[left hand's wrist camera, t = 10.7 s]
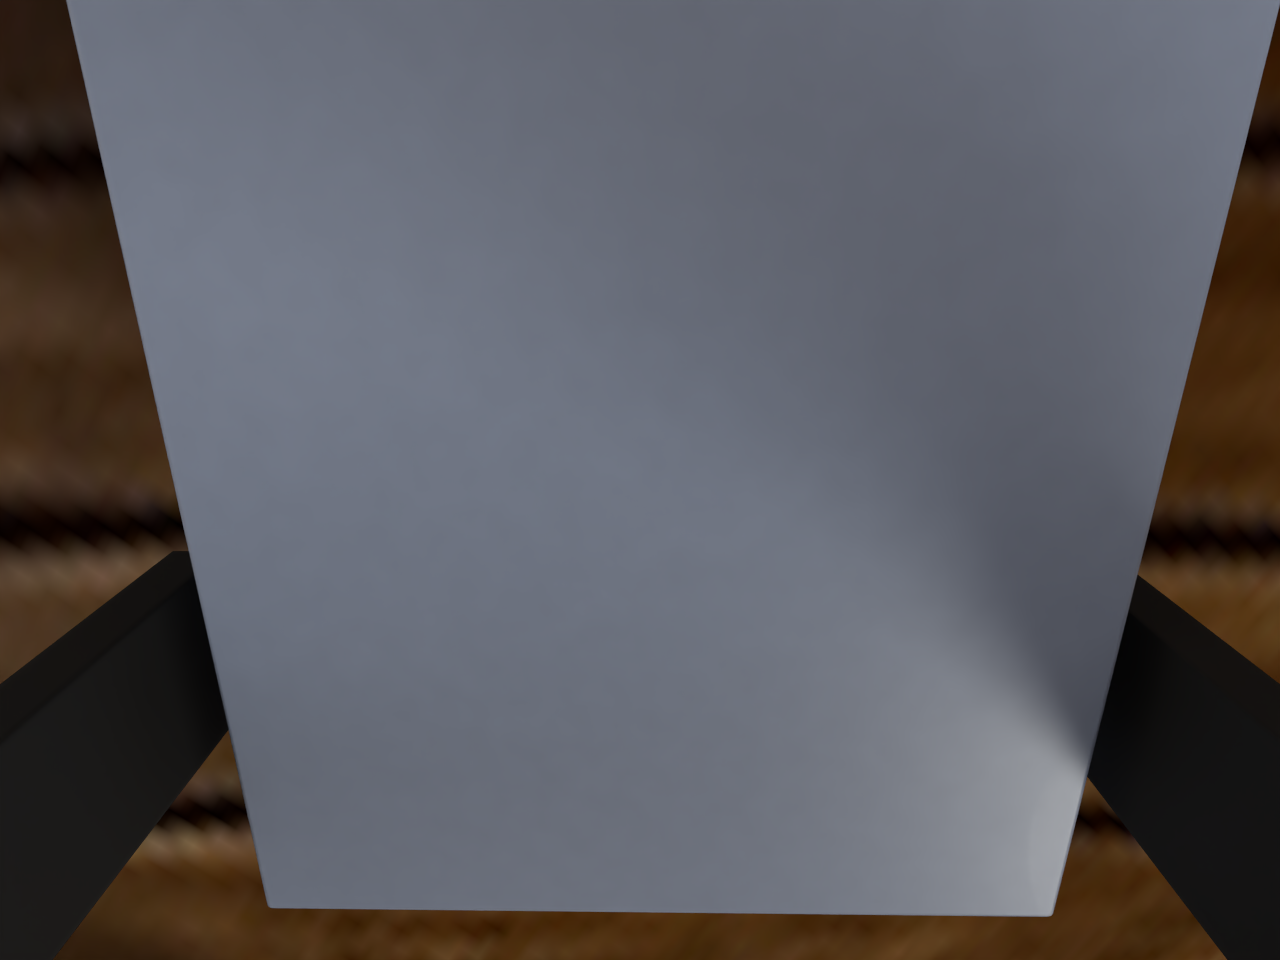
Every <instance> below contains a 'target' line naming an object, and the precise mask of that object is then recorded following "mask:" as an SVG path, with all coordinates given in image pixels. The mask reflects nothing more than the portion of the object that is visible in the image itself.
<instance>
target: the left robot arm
mask: <svg viewBox="0 0 1280 960" xmlns="http://www.w3.org/2000/svg"><path fill="white" fill-rule="evenodd" d="M228 730H229V729H228V724H227V720H226V715H225V711H224V707H223V702H222V698H221V693H220V689H219V684H218V680H217V675H216V671H215V666H214V662H213V657H212V653H211V648H210V644H209V639H208V635H207V630H206V626H205V621H204V617H203V612H202V608H201V603H200V599H199V594H198V590H197V585H196V581H195V576H194V572H193V567H192V563H191V558H190V554H189V551H173V552H171V553H170V554H169V555H167V556H166V557H165V558H163V559H162V560H161V561H160V562H158V563H157V564H156V565H154V566H153V567H152V568H150V569H149V570H148V571H147V572H145V573H144V574H143V575H141V576H140V577H139V578H137V579H136V580H135V581H134V582H132V583H131V584H130V585H128V586H127V587H126V588H125V589H123V590H122V591H121V592H119V593H118V594H117V595H115V596H114V597H113V598H112V599H110V600H109V601H108V602H106V603H105V604H104V605H102V606H101V607H100V608H99V609H97V610H96V611H95V612H93V613H92V614H91V615H89V616H88V617H87V618H86V619H84V620H83V621H82V622H80V623H79V624H78V625H76V626H75V627H74V628H73V629H71V630H70V631H69V632H67V633H66V634H65V635H64V636H62V637H61V638H60V639H58V640H57V641H56V642H54V643H53V644H52V645H51V646H49V647H48V648H47V649H45V650H44V651H43V652H41V653H40V654H39V655H38V656H36V657H35V658H34V659H32V660H31V661H30V662H28V663H27V664H26V665H25V666H23V667H22V668H21V669H19V670H18V671H17V672H15V673H14V674H13V675H12V676H10V677H9V678H8V679H6V680H5V681H4V682H3V683H1V684H0V960H53V958H54V957H55V956H56V955H57V953H58V952H59V951H60V949H61V948H62V947H63V945H64V944H65V943H66V941H67V940H68V939H69V938H70V936H71V935H72V934H73V932H74V931H75V930H76V928H77V927H78V926H79V924H80V923H81V922H82V921H83V919H84V918H85V917H86V915H87V914H88V913H89V911H90V910H91V909H92V907H93V906H94V905H95V904H96V902H97V901H98V900H99V898H100V897H101V896H102V894H103V893H104V892H105V890H106V889H107V888H108V887H109V885H110V884H111V883H112V881H113V880H114V879H115V877H116V876H117V875H118V873H119V872H120V871H121V870H122V868H123V867H124V866H125V864H126V863H127V862H128V860H129V859H130V858H131V856H132V855H133V854H134V853H135V851H136V850H137V849H138V847H139V846H140V845H141V843H142V842H143V841H144V839H145V838H146V837H147V836H148V834H149V833H150V832H151V830H152V829H153V828H154V826H155V825H156V824H157V822H158V821H159V820H160V819H161V817H162V816H163V815H164V813H165V812H166V811H167V809H168V808H169V807H170V805H171V804H172V803H173V802H174V800H175V799H176V798H177V796H178V795H179V794H180V792H181V791H182V790H183V788H184V787H185V786H186V785H187V783H188V782H189V781H190V779H191V778H192V777H193V775H194V774H195V773H196V771H197V770H198V769H199V768H200V766H201V765H202V764H203V762H204V761H205V760H206V758H207V757H208V756H209V754H210V753H211V752H212V750H213V749H214V748H215V747H216V745H217V744H218V743H219V741H220V740H221V739H222V737H223V736H224V735H225V733H226V732H227V731H228ZM1087 777H1088V778H1089V779H1090V781H1091V782H1092V783H1093V785H1094V786H1095V787H1096V788H1097V790H1098V791H1099V792H1100V794H1101V795H1102V796H1103V798H1104V799H1105V800H1106V802H1107V803H1108V804H1109V805H1110V807H1111V808H1112V809H1113V811H1114V812H1115V813H1116V815H1117V816H1118V817H1119V819H1120V820H1121V821H1122V822H1123V824H1124V825H1125V826H1126V828H1127V829H1128V830H1129V832H1130V833H1131V834H1132V836H1133V837H1134V838H1135V839H1136V841H1137V842H1138V843H1139V845H1140V846H1141V847H1142V849H1143V850H1144V851H1145V853H1146V854H1147V855H1148V856H1149V858H1150V859H1151V860H1152V862H1153V863H1154V864H1155V866H1156V867H1157V868H1158V870H1159V871H1160V872H1161V873H1162V875H1163V876H1164V877H1165V879H1166V880H1167V881H1168V883H1169V884H1170V885H1171V887H1172V888H1173V889H1174V890H1175V892H1176V893H1177V894H1178V896H1179V897H1180V898H1181V900H1182V901H1183V902H1184V904H1185V905H1186V906H1187V907H1188V909H1189V910H1190V911H1191V913H1192V914H1193V915H1194V917H1195V918H1196V919H1197V921H1198V922H1199V923H1200V924H1201V926H1202V927H1203V928H1204V930H1205V931H1206V932H1207V934H1208V935H1209V936H1210V938H1211V939H1212V940H1213V941H1214V943H1215V944H1216V945H1217V947H1218V948H1219V949H1220V951H1221V952H1222V953H1223V955H1224V956H1225V957H1226V958H1227V960H1280V684H1279V683H1277V682H1276V681H1275V680H1274V679H1272V678H1271V677H1270V676H1268V675H1267V674H1266V673H1265V672H1263V671H1262V670H1261V669H1259V668H1258V667H1257V666H1255V665H1254V664H1253V663H1252V662H1250V661H1249V660H1248V659H1246V658H1245V657H1244V656H1242V655H1241V654H1240V653H1239V652H1237V651H1236V650H1235V649H1233V648H1232V647H1231V646H1229V645H1228V644H1227V643H1226V642H1224V641H1223V640H1222V639H1220V638H1219V637H1218V636H1216V635H1215V634H1214V633H1213V632H1211V631H1210V630H1209V629H1207V628H1206V627H1205V626H1204V625H1202V624H1201V623H1200V622H1198V621H1197V620H1196V619H1194V618H1193V617H1192V616H1191V615H1189V614H1188V613H1187V612H1185V611H1184V610H1183V609H1181V608H1180V607H1179V606H1178V605H1176V604H1175V603H1174V602H1172V601H1171V600H1170V599H1168V598H1167V597H1166V596H1165V595H1163V594H1162V593H1161V592H1159V591H1158V590H1157V589H1155V588H1154V587H1153V586H1152V585H1150V584H1149V583H1148V582H1146V581H1145V580H1144V579H1143V578H1141V577H1140V576H1139V575H1137V578H1136V582H1135V586H1134V590H1133V594H1132V598H1131V602H1130V606H1129V610H1128V614H1127V618H1126V622H1125V626H1124V630H1123V634H1122V638H1121V642H1120V646H1119V650H1118V654H1117V658H1116V662H1115V666H1114V670H1113V674H1112V678H1111V682H1110V687H1109V691H1108V695H1107V699H1106V703H1105V707H1104V711H1103V715H1102V719H1101V723H1100V727H1099V731H1098V735H1097V739H1096V743H1095V747H1094V751H1093V755H1092V759H1091V763H1090V767H1089V771H1088V775H1087Z"/></svg>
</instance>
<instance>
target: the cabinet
mask: <svg viewBox="0 0 1280 960" xmlns="http://www.w3.org/2000/svg"><path fill="white" fill-rule="evenodd" d="M66 1H67V6H68V10H69V15H70V19H71V24H72V28H73V33H74V37H75V42H76V46H77V51H78V55H79V60H80V64H81V69H82V73H83V78H84V82H85V87H86V91H87V96H88V100H89V105H90V109H91V114H92V118H93V123H94V127H95V131H96V136H97V140H98V145H99V149H100V154H101V158H102V163H103V167H104V172H105V176H106V181H107V185H108V190H109V194H110V199H111V203H112V208H113V212H114V217H115V221H116V226H117V230H118V235H119V239H120V244H121V248H122V253H123V257H124V262H125V266H126V271H127V275H128V280H129V284H130V289H131V293H132V298H133V302H134V307H135V311H136V316H137V320H138V325H139V329H140V334H141V338H142V343H143V347H144V352H145V356H146V361H147V365H148V370H149V374H150V379H151V383H152V388H153V392H154V397H155V401H156V406H157V410H158V415H159V419H160V423H161V428H162V432H163V437H164V441H165V446H166V450H167V455H168V459H169V464H170V468H171V473H172V477H173V482H174V486H175V491H176V495H177V500H178V504H179V509H180V513H181V518H182V522H183V527H184V531H185V536H186V540H187V545H188V549H189V554H190V558H191V563H192V567H193V572H194V576H195V581H196V585H197V590H198V594H199V599H200V603H201V608H202V612H203V617H204V621H205V626H206V630H207V635H208V639H209V644H210V648H211V653H212V657H213V662H214V666H215V671H216V675H217V680H218V684H219V689H220V693H221V698H222V702H223V707H224V711H225V715H226V720H227V724H228V729H229V733H230V738H231V742H232V747H233V751H234V756H235V760H236V765H237V769H238V774H239V778H240V783H241V787H242V792H243V796H244V801H245V805H246V810H247V814H248V819H249V823H250V828H251V832H252V837H253V841H254V846H255V850H256V855H257V859H258V864H259V868H260V873H261V877H262V882H263V886H264V891H265V895H266V900H267V904H268V906H269V907H271V908H318V909H408V910H498V911H588V912H677V913H767V914H857V915H947V916H1037V917H1048V916H1051V915H1052V914H1053V911H1054V907H1055V903H1056V899H1057V895H1058V891H1059V887H1060V883H1061V879H1062V875H1063V871H1064V867H1065V863H1066V859H1067V855H1068V851H1069V847H1070V843H1071V839H1072V835H1073V831H1074V827H1075V823H1076V819H1077V815H1078V811H1079V807H1080V803H1081V799H1082V795H1083V791H1084V787H1085V783H1086V779H1087V775H1088V771H1089V767H1090V763H1091V759H1092V755H1093V751H1094V747H1095V743H1096V739H1097V735H1098V731H1099V727H1100V723H1101V719H1102V715H1103V711H1104V707H1105V703H1106V699H1107V695H1108V691H1109V687H1110V682H1111V678H1112V674H1113V670H1114V666H1115V662H1116V658H1117V654H1118V650H1119V646H1120V642H1121V638H1122V634H1123V630H1124V626H1125V622H1126V618H1127V614H1128V610H1129V606H1130V602H1131V598H1132V594H1133V590H1134V586H1135V582H1136V578H1137V574H1138V570H1139V566H1140V562H1141V558H1142V554H1143V550H1144V546H1145V542H1146V538H1147V534H1148V530H1149V526H1150V522H1151V518H1152V514H1153V510H1154V506H1155V502H1156V498H1157V494H1158V490H1159V486H1160V482H1161V478H1162V474H1163V470H1164V466H1165V462H1166V458H1167V454H1168V450H1169V446H1170V442H1171V438H1172V434H1173V430H1174V426H1175V422H1176V418H1177V414H1178V410H1179V406H1180V402H1181V398H1182V394H1183V390H1184V386H1185V382H1186V378H1187V374H1188V370H1189V366H1190V362H1191V358H1192V354H1193V350H1194V346H1195V342H1196V338H1197V334H1198V330H1199V326H1200V322H1201V318H1202V314H1203V310H1204V306H1205V302H1206V298H1207V294H1208V290H1209V286H1210V282H1211V278H1212V274H1213V270H1214V266H1215V262H1216V258H1217V254H1218V250H1219V246H1220V242H1221V238H1222V234H1223V230H1224V226H1225V222H1226V218H1227V214H1228V210H1229V206H1230V202H1231V198H1232V194H1233V190H1234V186H1235V182H1236V178H1237V174H1238V170H1239V166H1240V162H1241V158H1242V154H1243V150H1244V146H1245V142H1246V137H1247V133H1248V129H1249V125H1250V121H1251V117H1252V113H1253V109H1254V105H1255V101H1256V97H1257V93H1258V89H1259V85H1260V81H1261V77H1262V73H1263V69H1264V65H1265V61H1266V57H1267V53H1268V49H1269V45H1270V41H1271V37H1272V33H1273V29H1274V25H1275V21H1276V17H1277V13H1278V9H1279V5H1280V0H66Z"/></svg>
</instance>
